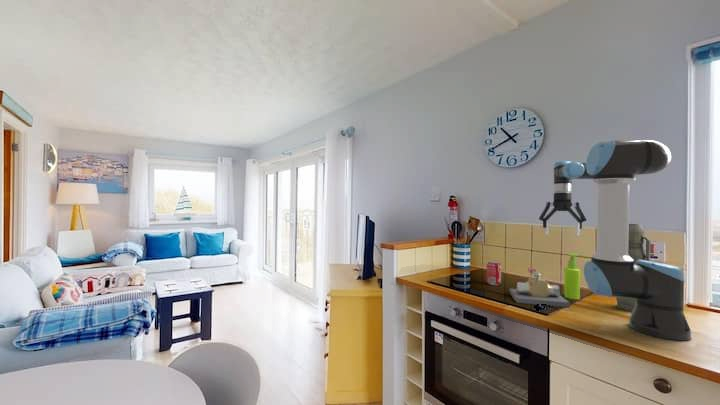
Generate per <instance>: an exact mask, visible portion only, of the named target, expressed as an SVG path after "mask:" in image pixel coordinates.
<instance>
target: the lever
mask: <svg viewBox="0 0 720 405" xmlns="http://www.w3.org/2000/svg"><path fill="white" fill-rule="evenodd" d="M527 271H528V272H529V273H530V274H533V275H534V276H533V278H536V277H538V278H542V273H539V272H537V270H536V269H535V268H533V267H528V268H527Z"/></svg>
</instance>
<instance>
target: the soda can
mask: <svg viewBox="0 0 720 405" xmlns="http://www.w3.org/2000/svg"><path fill="white" fill-rule="evenodd" d="M486 283H487V284H489V285H490V286H499V285H501V283H502V265H501V262H500V261H498V260H488V261H487V263H486Z"/></svg>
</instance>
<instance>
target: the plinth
mask: <svg viewBox="0 0 720 405" xmlns="http://www.w3.org/2000/svg"><path fill="white" fill-rule="evenodd" d="M509 294H510V295H511V297H512V298H513V299H514V301H515V302H516V303H517V304H526V305H527V304H528V305H537V304H547V305H546V306H548V305H550V306H551V307H561V308H570V306H571V304H570V303H571V302H569V300H567V299H566V298H565V297H563V295H561V294H560V295H559V297H553V296H550V297H547V298H546V297H534V296H529V295H527V294H518V293H517V288H509Z"/></svg>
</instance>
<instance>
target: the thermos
mask: <svg viewBox="0 0 720 405" xmlns="http://www.w3.org/2000/svg"><path fill="white" fill-rule="evenodd" d="M644 234H645V232H644V229H643V226H642V225H641V224H638V223H629V239H628V255H629V256H630V257H631V258H632V259H633V260H634V264H636V261H637V260H646V261H651V245H652V244H651V243H652V242H651V241H652V240H651V239H650V238H649V237H648V236H645V235H644ZM644 240H645V249H644ZM615 300H616V308H617V309H619V308H620V309H619V310H622V309H623V310H622V311H625V310H626V312H630V311H632V312H633V310H634V308H635V305H636V299H635V298H622V297H615Z"/></svg>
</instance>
